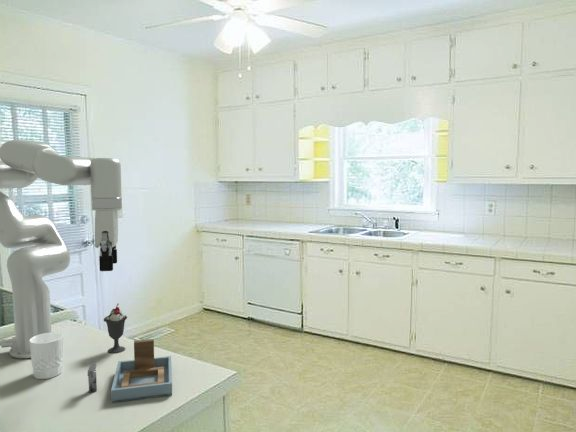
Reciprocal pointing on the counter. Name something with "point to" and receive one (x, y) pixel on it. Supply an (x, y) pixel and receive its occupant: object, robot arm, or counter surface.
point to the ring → (143, 364)
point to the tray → (144, 390)
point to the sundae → (116, 328)
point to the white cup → (46, 355)
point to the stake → (92, 377)
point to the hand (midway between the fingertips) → (108, 267)
